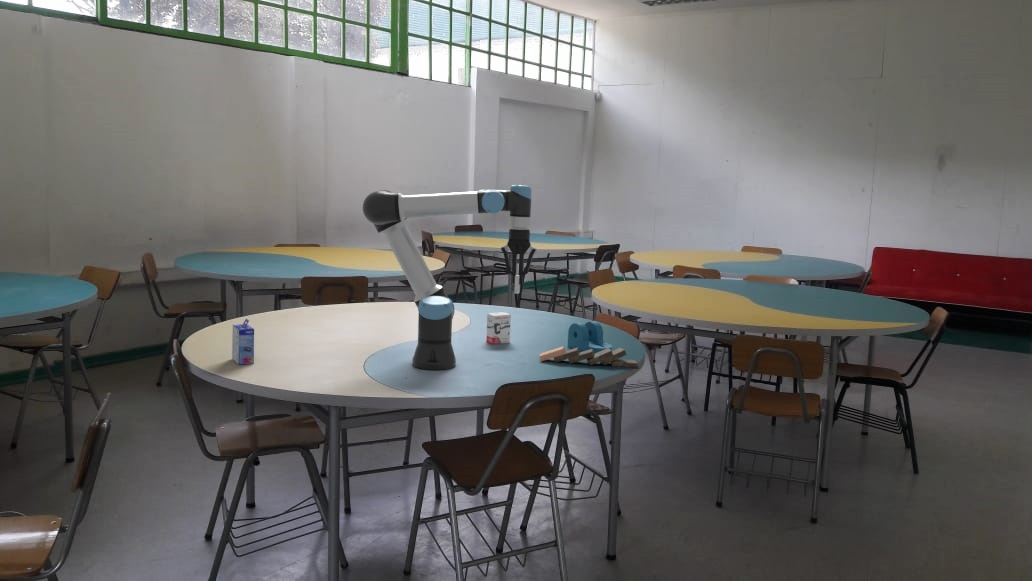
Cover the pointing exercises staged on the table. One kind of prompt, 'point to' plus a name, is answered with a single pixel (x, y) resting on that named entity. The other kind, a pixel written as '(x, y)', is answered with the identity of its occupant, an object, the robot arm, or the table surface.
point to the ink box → (498, 327)
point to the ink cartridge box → (243, 343)
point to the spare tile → (552, 353)
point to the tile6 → (624, 363)
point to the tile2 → (567, 355)
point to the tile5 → (614, 356)
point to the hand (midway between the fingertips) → (516, 293)
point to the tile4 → (600, 356)
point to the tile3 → (582, 356)
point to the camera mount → (587, 337)
